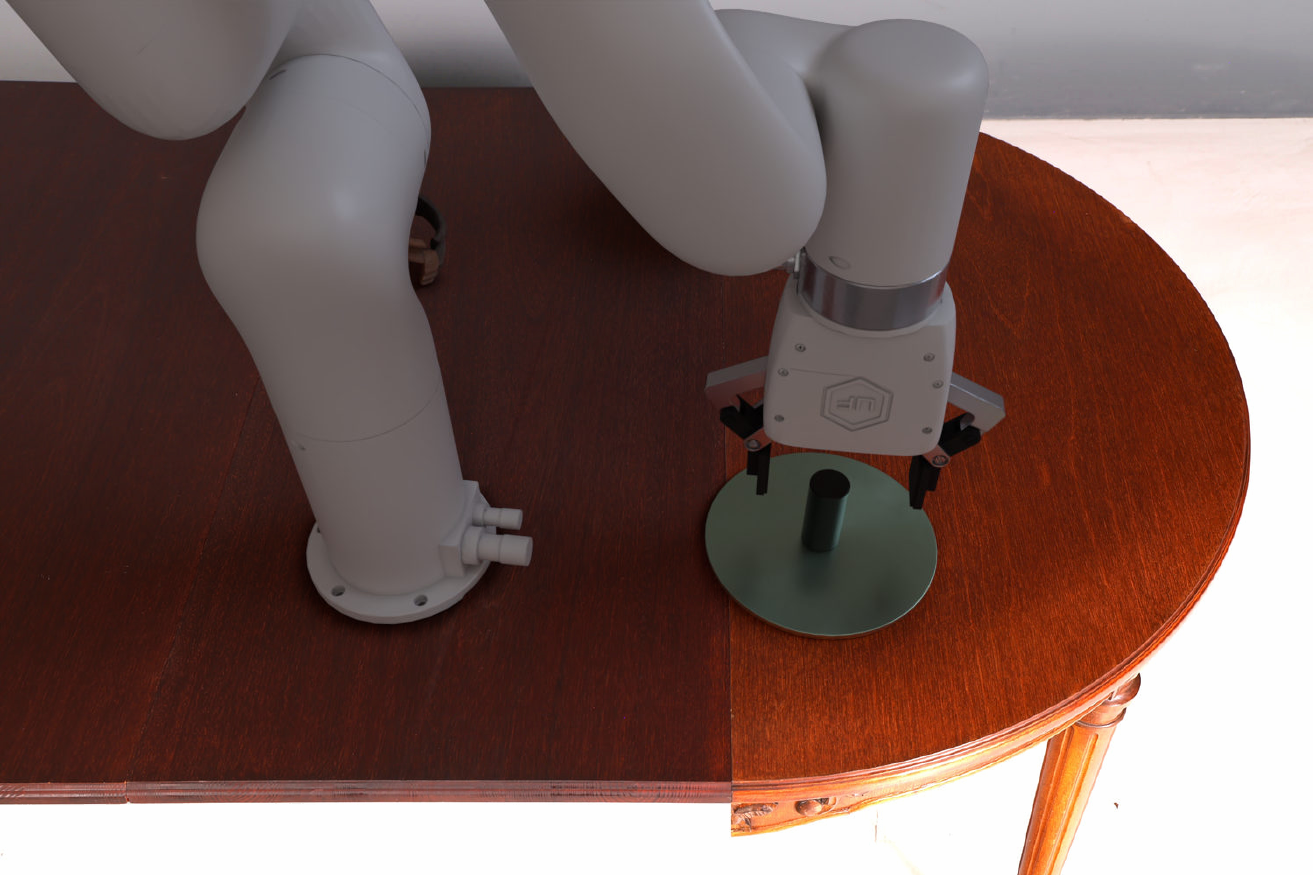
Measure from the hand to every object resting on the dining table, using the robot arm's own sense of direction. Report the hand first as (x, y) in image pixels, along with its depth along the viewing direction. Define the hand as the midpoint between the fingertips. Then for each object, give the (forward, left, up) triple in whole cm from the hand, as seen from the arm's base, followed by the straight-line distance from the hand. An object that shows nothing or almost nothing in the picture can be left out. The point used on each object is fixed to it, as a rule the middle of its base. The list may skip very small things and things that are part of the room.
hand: (838, 485), depth 67 cm
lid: (+1, 0, -6) cm, 6 cm away
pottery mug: (+40, -25, -7) cm, 47 cm away
